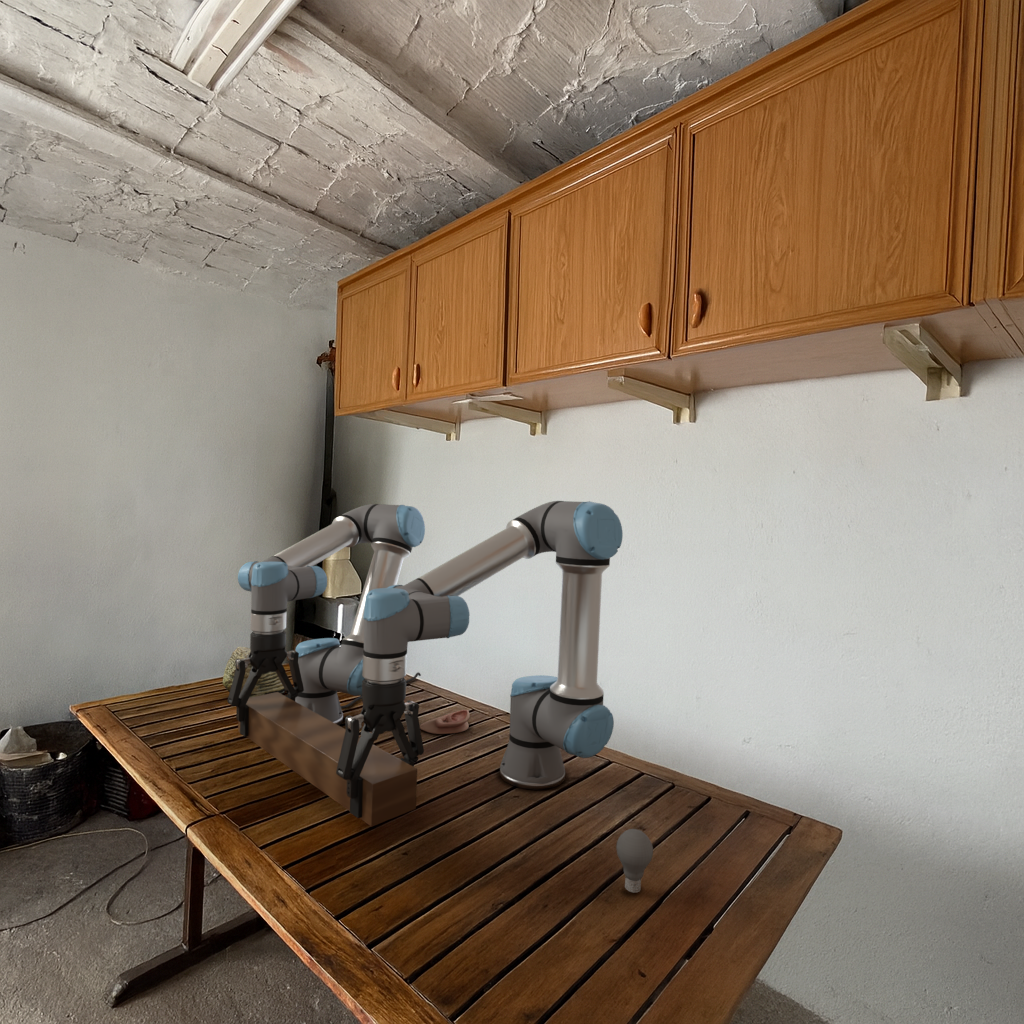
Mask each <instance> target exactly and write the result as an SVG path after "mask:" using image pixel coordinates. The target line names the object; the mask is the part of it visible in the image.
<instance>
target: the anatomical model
mask: <svg viewBox="0 0 1024 1024" xmlns="http://www.w3.org/2000/svg"><path fill="white" fill-rule="evenodd" d="M470 715H471V714H470V711H469V710H468V709H461V710H457V711H454V712H450V713H447V714H445V715H442V716H439V717H437V718H436V717H435V718H432V719H429V720H427V721H424V722H422V723H421V724H419V725H420V731H423V732H427V733H430V734H434V735H445V734H447V735H448V734H455V733H456V734H457V733H462V732H465V731H467V730H468V729H469V726H470V724H469V722H468V721H469V720H470V717H471V716H470Z"/></svg>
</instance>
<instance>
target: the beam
mask: <svg viewBox="0 0 1024 1024" xmlns="http://www.w3.org/2000/svg"><path fill="white" fill-rule="evenodd" d="M246 705H247V706H248V707H249V730H248V736H247V737H246V738H247V739H248V740H250V741H251V742H252V743H254V744H255V745H257V746H258V747H259V748H261V749H262V750H264V751H265V752H267V753H268V754H269V755H271V756H272V757H274V758H275V759H276V760H277V761H279V762H280V763H282V764H283V765H285V766H286V767H287V768H288V769H290V770H292V771H293V772H294V773H296V774H297V775H298V776H300V777H301V778H303V779H304V780H305V781H307V782H308V783H309V784H311V785H312V786H314V787H315V788H317V789H318V790H319V791H321V793H324V794H325V795H326V796H327V797H329V798H331V799H332V800H333V801H335V802H336V803H338V804H339V805H340V806H342V807H343V808H344V809H346V810H347V811H349V812H350V798H349V797H348V796H347V794H346V790H347V780H344V779H343V778H341V777H340V776H338V775H337V774H336V770H337V765H338V761H339V757H340V753H341V748H342V744H343V740H344V735H345V731H346V728H344V727H342V726H340V725H337V724H335V723H333V722H331V721H330V720H328V719H326V718H324V717H322V716H320V715H319V714H317V713H315V712H313V711H311V710H310V709H308V708H306V707H304V706H302V705H300V704H299V703H297V702H295V701H293V700H291V699H290V698H288V697H286V696H284V694H283V693H279V692H275V693H270V694H265V695H260V696H255V697H251V698H249V699H248V701H247V703H246ZM237 732H239V733H240V722H239V721H238V720H237ZM360 737H361V736H359V738H358V742H359V739H360ZM357 744H358V743H357ZM400 759H401V758H399V757H396V756H395V755H393V754H391V753H389V752H387V751H386V750H384V749H382V748H381V747H379V746H377V745H375V744H373V745H372V748H371V750H370V752H369V755H368V757H367V759H366V762H365V764H364V767H363V769H362V771H361V774H360V776H359V777H361V778H362V779H363V799H362V817H361V818H359V819H360V820H361V821H362V822H365V823H366V824H367V825H368V826H370V827H371V828H372V827H374V826H378V825H379V824H382V823H384V822H386V821H389V820H391V819H394V818H397V817H399V816H402V815H404V814H406V813H409V812H411V811H414V810H417V792H418V791H417V788H418V768H417V767H415V766H414V767H413V766H411V765H409V764H408V763H406V762H404V761H402V760H400Z"/></svg>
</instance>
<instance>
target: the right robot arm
mask: <svg viewBox="0 0 1024 1024" xmlns="http://www.w3.org/2000/svg"><path fill="white" fill-rule="evenodd" d="M622 542H623V526H622V523H621V519H620V518H619V516H618V514H616V512H615V511H614V509H613V508H611V506H609V505H607V504H605V503H600V502H595V501H590V500H589V501H570V500H569V501H567V500H565V501H564V500H553V501H552V500H551V501H548V502H546V503H543V504H540V505H538V506H536V507H534V508H532V509H530V510H528V511H526V512H524V513H522V514H520V515H518V516H516V517H515V518H513V519H511V520H510V521H508V522H507V523H506V527H505V528H504V529H502V530H501V531H499V532H497V533H495V534H493V535H492V536H490V537H489V538H487V539H485V540H483V541H481V542H479V543H477V544H475V545H474V546H472V547H470V548H469V549H467V550H465V551H464V552H462V553H460V554H458V555H457V556H455V557H453V558H451V559H449V560H447V561H446V562H444V563H441V564H440V565H438V566H437V567H435V568H433V569H432V570H430V571H427V572H426V573H424V574H422V575H421V576H419V577H417V578H415V579H413V580H412V581H410V582H407V583H406V584H404V585H403V584H397V585H392V586H389V587H387V588H379V589H373V590H371V591H369V592H368V593H367V595H366V600H365V608H364V615H363V617H364V650H363V670H362V676H363V677H364V678H365V679H364V680H363V681H362V699H361V703H362V708H361V711H360V713H359V714H356V715H353V716H351V715H347V716H346V717H345V719H344V724H345V729H346V731H345V735H344V740H343V744H342V748H341V753H340V757H339V761H338V765H337V770H336V774H337V775H338V776H340V777H341V778H343V779H344V780H347V790H346V794H347V796H348V797H349V798H350V811H349V813H350V814H351V815H353V816H354V817H356V818H357V819H360V818H361V817H362V799H363V779H362V778H361V777H359V776H360V774H361V771H362V769H363V767H364V764H365V762H366V759H367V757H368V755H369V752H370V750H371V748H372V745H374V743H375V742H376V741H377V740H378V738H379V736H380V735H382V734H384V733H385V732H390V733H392V736H393V738H394V740H395V743H396V744H397V746H398V749H399V751H400V753H401V755H402V757H401V758H399V759H400V760H402V761H404V762H406V763H408V764H409V765H411V766H413V767H415V764H416V763H417V762H418V761H419V757H418V756H422V755H423V754H424V752H425V748H424V744H423V736H422V730H421V729H420V725H421V724H420V720H419V712H420V711H419V710H420V704H419V703H417V702H414V701H413V700H409V699H408V700H406V698H407V694H406V693H407V683H406V680H407V679H406V678H405V677H406V676H407V664H408V662H407V660H408V643H410V642H411V643H412V642H419V641H427V640H428V641H429V640H437V639H439V640H440V639H450V638H454V637H458V636H461V635H463V634H464V633H466V631H467V629H468V628H469V625H470V609H469V606H468V603H467V602H466V600H465V599H464V598H463V597H461V595H462V594H464V593H466V592H468V591H469V590H471V589H473V588H474V587H476V586H478V585H479V584H481V583H483V582H484V581H486V580H488V579H490V578H491V577H492V576H495V575H496V574H498V573H500V572H502V571H503V570H505V569H506V568H508V567H510V566H511V565H513V564H514V563H516V562H518V561H520V560H522V559H525V560H528V559H532V558H534V557H536V556H538V555H540V554H543V553H550V552H553V553H555V565H556V566H557V567H558V568H559V569H560V570H561V592H560V593H561V594H560V614H559V615H560V616H559V617H560V618H559V634H558V635H559V636H558V659H557V676H554V675H545V674H543V675H538V674H537V675H527V676H526V675H525V676H522V677H518V678H516V679H515V680H514V681H513V682H512V684H511V690H510V694H509V695H510V696H509V697H510V703H509V708H510V710H509V735H508V743H507V746H506V748H505V752H504V754H503V757H502V760H501V762H500V766H499V777H500V778H501V779H502V780H503V781H504V782H505V783H507V784H509V785H511V786H513V787H516V788H520V789H525V790H526V789H527V790H547V789H551V788H555V787H558V786H560V785H561V784H562V783H564V781H565V780H566V768H565V767H566V766H565V763H564V760H563V756H562V752H561V750H563V751H564V752H565V753H566V754H568V755H573V756H576V757H578V758H580V759H581V758H582V759H589V758H593V757H594V756H596V755H598V754H599V753H600V752H601V751H603V750H604V748H605V746H607V744H608V743H609V741H610V739H611V736H612V735H613V731H614V726H615V725H614V723H615V720H614V715H613V713H612V712H611V710H610V709H609V708H608V707H607V706H606V705H604V695H605V694H604V693H605V692H604V689H603V688H602V687H601V686H600V684H598V673H599V672H598V671H599V670H598V669H599V649H600V628H601V626H600V624H601V609H602V608H601V605H602V604H601V603H602V583H603V573H604V572H605V571H606V570H607V569H608V568H609V567H610V565H611V558H613V557H614V556H615V555H616V554H617V553H618V549H620V548H621V545H622ZM405 700H406V702H405ZM403 715H404V719H405V726H406V730H407V733H406V732H405V726H404V724H403V722H402V720H401V719H402V717H403ZM362 724H363V725H362ZM359 737H360V739H359V742H358V738H359ZM357 743H358V744H357Z"/></svg>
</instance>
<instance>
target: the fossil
mask: <svg viewBox="0 0 1024 1024" xmlns="http://www.w3.org/2000/svg"><path fill="white" fill-rule="evenodd" d="M249 655H250V647H247V646H246V647H245V646H238V647H237V648H236V649H235V650H233V651H232V653H231V656H230V657H229V659H228V660H227V663H226V666H225V668H224V671H223V675H222V676H223V677H222V685H223V687H224V688H225V690H226V691H228V693H230V689H231V686H232V682H233V678H234V674H235V670H236V666H235V660H236V659H238V658H239V659H244V658H248V656H249ZM251 668H252V665H251V664H250V663H249V664H248V667H247V668H246V670H245V676H244V680H243V684H242V688H243V686H244V684H245V682H246V680H247V678H248V677H249V672H250V670H251ZM242 688H241V690H242ZM240 692H241V691H240ZM275 692H279V693H280V694H284V693H285V692H286V690H285V688H284V686H283V685H282V683H281V681H280V679H279V677H278V675H277V673H276V672H268V673H265V674H262V675H261V677H260V678H259V679H258V681H257V683H256V685H255V687H254V689H253V691H252V693H251V695H250V697H249V698H251V697H255V696H260V695H265V694H270V693H275Z"/></svg>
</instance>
